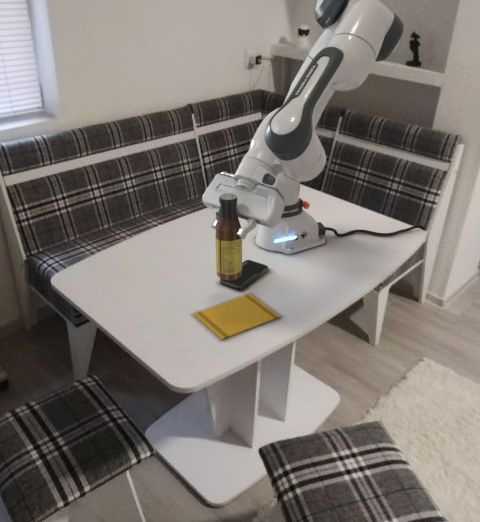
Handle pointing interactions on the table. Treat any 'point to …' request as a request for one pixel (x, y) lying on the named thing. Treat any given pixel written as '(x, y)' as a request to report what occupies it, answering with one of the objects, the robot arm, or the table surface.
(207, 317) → the tray
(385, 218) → the table surface
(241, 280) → the phone
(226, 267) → the sauce bottle
